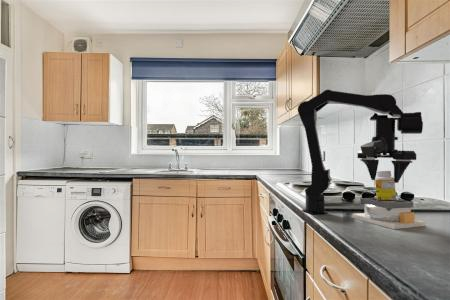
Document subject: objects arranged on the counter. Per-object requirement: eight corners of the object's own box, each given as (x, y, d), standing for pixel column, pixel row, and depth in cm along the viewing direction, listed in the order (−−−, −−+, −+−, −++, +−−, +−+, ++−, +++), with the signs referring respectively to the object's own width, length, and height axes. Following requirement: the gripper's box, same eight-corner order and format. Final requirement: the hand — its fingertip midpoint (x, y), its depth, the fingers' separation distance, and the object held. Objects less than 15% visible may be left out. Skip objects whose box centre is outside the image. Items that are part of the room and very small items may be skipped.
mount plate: (351, 217, 105) (351, 213, 105) (380, 215, 110) (380, 211, 110) (394, 229, 91) (394, 224, 91) (425, 225, 96) (425, 221, 96)
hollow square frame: (355, 214, 104) (355, 198, 104) (384, 212, 109) (384, 196, 109) (393, 224, 91) (393, 205, 91) (424, 221, 96) (425, 203, 96)
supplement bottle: (376, 203, 104) (374, 172, 106) (395, 203, 102) (393, 171, 104) (377, 203, 99) (374, 171, 101) (397, 203, 97) (394, 170, 99)
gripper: (345, 134, 110) (344, 179, 110) (390, 131, 93) (389, 184, 93) (370, 135, 114) (369, 178, 114) (418, 132, 97) (417, 184, 97)
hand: (384, 181), depth 104 cm, fingers open, 9 cm apart
